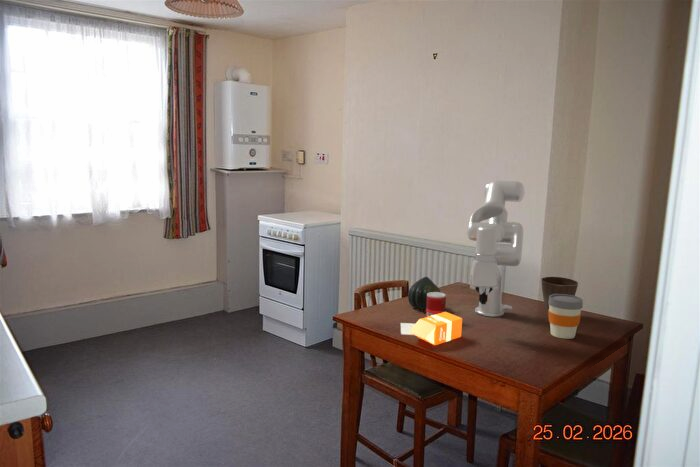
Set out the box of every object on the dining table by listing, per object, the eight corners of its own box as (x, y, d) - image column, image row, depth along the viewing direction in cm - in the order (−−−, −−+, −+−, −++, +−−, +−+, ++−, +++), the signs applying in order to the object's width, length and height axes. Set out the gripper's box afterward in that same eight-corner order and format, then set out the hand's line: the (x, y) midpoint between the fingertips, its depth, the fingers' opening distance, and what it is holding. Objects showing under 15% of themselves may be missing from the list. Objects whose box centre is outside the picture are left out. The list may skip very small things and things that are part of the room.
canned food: (444, 322, 216) (445, 297, 214) (425, 321, 218) (426, 296, 216) (445, 317, 224) (446, 292, 222) (426, 315, 225) (427, 291, 223)
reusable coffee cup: (538, 331, 207) (541, 295, 205) (562, 327, 212) (565, 292, 210) (562, 342, 196) (566, 304, 193) (587, 337, 201) (590, 300, 198)
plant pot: (579, 315, 228) (582, 280, 226) (568, 323, 217) (572, 287, 214) (545, 308, 238) (548, 275, 235) (533, 316, 226) (536, 281, 224)
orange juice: (461, 337, 199) (424, 349, 187) (444, 329, 206) (407, 341, 194) (462, 317, 198) (425, 329, 186) (445, 311, 204) (408, 321, 192)
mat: (441, 325, 213) (441, 324, 213) (444, 336, 200) (445, 335, 200) (400, 323, 214) (400, 323, 214) (401, 334, 201) (401, 333, 201)
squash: (417, 303, 224) (435, 276, 227) (397, 296, 236) (414, 270, 240) (435, 321, 230) (453, 293, 234) (415, 313, 243) (432, 287, 246)
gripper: (503, 256, 203) (500, 301, 206) (464, 255, 204) (462, 299, 207) (507, 260, 195) (504, 307, 198) (467, 259, 197) (464, 305, 200)
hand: (482, 303), depth 203 cm, fingers closed
